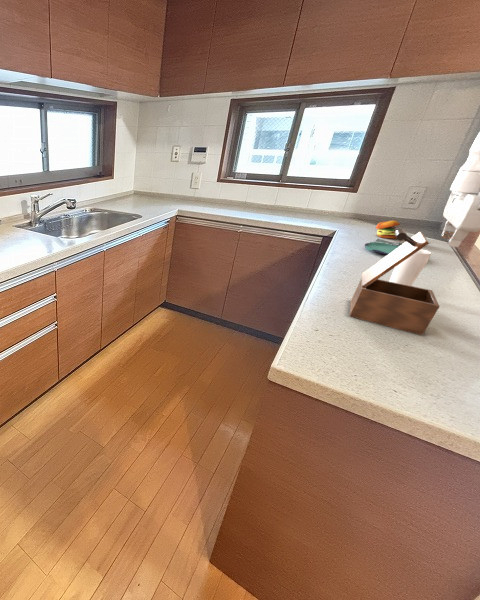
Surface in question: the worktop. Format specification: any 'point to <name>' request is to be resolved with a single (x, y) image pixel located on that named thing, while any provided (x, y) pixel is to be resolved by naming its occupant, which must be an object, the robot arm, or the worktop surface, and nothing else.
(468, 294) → the worktop surface
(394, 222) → the cheeseburger
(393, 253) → the lid
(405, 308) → the chest
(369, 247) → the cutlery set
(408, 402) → the worktop surface
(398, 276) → the white tapered cylinder
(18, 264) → the worktop surface
